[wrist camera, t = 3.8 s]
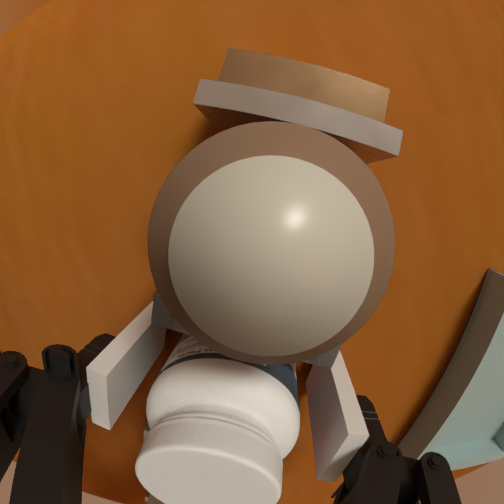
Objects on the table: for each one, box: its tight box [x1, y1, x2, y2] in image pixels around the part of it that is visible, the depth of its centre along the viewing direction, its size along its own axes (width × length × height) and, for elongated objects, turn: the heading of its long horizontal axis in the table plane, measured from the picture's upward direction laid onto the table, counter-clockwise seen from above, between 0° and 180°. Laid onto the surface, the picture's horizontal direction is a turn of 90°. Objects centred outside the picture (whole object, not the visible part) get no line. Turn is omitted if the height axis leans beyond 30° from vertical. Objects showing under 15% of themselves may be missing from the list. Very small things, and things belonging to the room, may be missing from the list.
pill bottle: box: [135, 333, 300, 504], centre depth 10 cm, size 5×5×9 cm
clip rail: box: [144, 48, 403, 502], centre depth 12 cm, size 6×25×5 cm, turn 166°
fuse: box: [148, 121, 395, 365], centre depth 9 cm, size 5×5×9 cm
